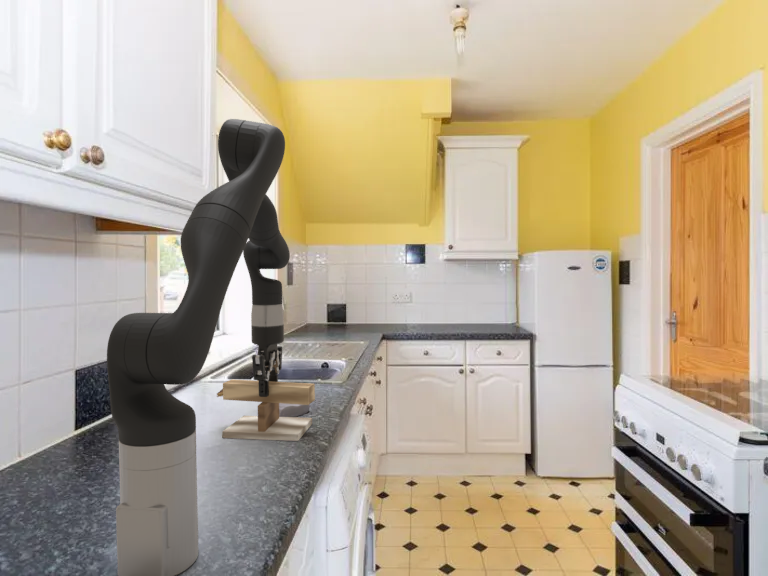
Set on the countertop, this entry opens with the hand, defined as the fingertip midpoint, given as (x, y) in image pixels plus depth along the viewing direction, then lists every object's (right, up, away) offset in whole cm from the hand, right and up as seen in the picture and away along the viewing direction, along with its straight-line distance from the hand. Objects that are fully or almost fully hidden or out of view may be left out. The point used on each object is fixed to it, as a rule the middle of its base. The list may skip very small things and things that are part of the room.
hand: (268, 392), depth 114 cm
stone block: (0, -9, +13) cm, 16 cm away
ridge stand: (0, -9, 0) cm, 9 cm away
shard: (-20, -9, +37) cm, 43 cm away
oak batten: (0, -2, 0) cm, 2 cm away
